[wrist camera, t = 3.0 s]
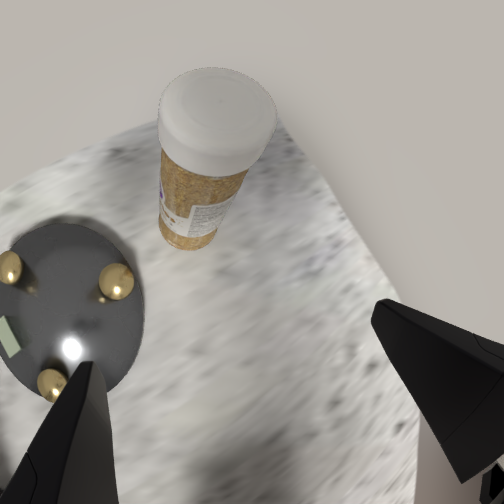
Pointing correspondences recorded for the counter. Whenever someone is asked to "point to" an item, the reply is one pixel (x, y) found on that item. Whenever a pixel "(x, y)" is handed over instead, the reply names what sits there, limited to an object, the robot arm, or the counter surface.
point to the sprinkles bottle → (208, 149)
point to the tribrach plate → (67, 308)
